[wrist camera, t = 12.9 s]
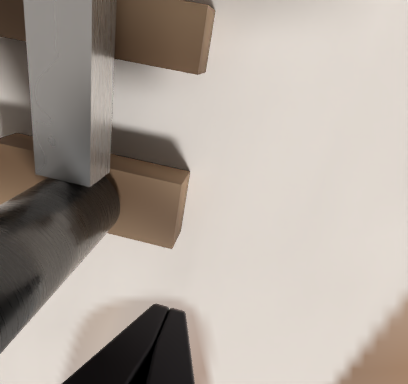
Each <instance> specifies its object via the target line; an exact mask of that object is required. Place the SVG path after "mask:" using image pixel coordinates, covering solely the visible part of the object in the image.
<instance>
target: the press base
mask: <svg viewBox="0 0 408 384" xmlns="http://www.w3.org/2000/svg"><path fill="white" fill-rule="evenodd" d="M214 15H215V10H214V9H213V8H211V7H210V6H209V5H207V4H201V3H195V2H189V1H183V0H117V2H116V28H115V53H114V59H119V60H125V61H130V62H135V63H140V64H145V65H150V66H156V67H161V68H166V69H171V70H176V71H182V72H187V73H192V74H197V75H198V74H201V73H204V72H206V67H207V60H208V54H209V47H210V41H211V35H212V28H213V22H214ZM0 37H5V38H11V39H16V40H21V41H26V31H25V17H24V3H23V0H0ZM189 175H190V171H186V170H181V169H177V168H172V167H168V166H163V165H159V164H154V163H150V162H145V161H141V160H137V159H132V158H128V157H123V156H119V155H114V154H111V155H110V172H109V173H108V174H106V175H105V177H106V178H107V179H108V180H109V181H110V182H111V184H112V185H113V186H114V188H115V190H116V192H117V194H118V197H119V200H120V214H119V218H118V220H117V221H116V223H115V224H114V225H113V227H112V228H111V229H110V230H109V231H108V232H107V233H109V234H113V235H117V236H122V237H126V238H130V239H134V240H138V241H142V242H146V243H150V244H154V245H158V246H162V247H166V248H170V249H172V248H173V246H174V244H175V242H176V240H177V238H178V236H179V234H180V232H181V226H182V220H183V214H184V207H185V201H186V194H187V188H188V182H189ZM46 178H48V177H45V176H41V175H36V174H35V161H34V146H33V136H29V135H24V134H20V133H15V134H12V135H9V136H6V137H2V138H0V205H1V204H3V203H4V202H6V201H8V200H10V199H11V198H13V197H15V196H17V195H18V194H20V193H22V192H23V191H25V190H27V189H29V188H30V187H32V186H34V185H36V184H37V183H39V182H41V181H43V180H44V179H46Z"/></svg>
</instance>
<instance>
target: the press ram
mask: <svg viewBox="0 0 408 384" xmlns="http://www.w3.org/2000/svg"><path fill="white" fill-rule="evenodd" d="M116 2H117V0H23V3H24V17H25V31H26V46H27V60H28V74H29V89H30V103H31V117H32V132H33V146H34V161H35V174H36V175H41V176H45V177H48V178H46V179H44V180H43V181H41V182H39V183H37V184H36V185H34V186H32V187H30V188H29V189H27V190H25V191H23V192H22V193H20V194H18V195H17V196H15V197H13V198H11V199H10V200H8V201H6V202H4V203H3V204H1V205H0V354H1V352H2V351H3V350H4V349H5V348H6V347H7V346H8V344H9V343H10V342H11V341H12V340H13V339H14V338H15V337H16V335H17V334H18V333H19V332H20V331H21V330H22V329H23V327H24V326H25V325H26V324H27V323H28V322H29V321H30V320H31V318H32V317H33V316H34V315H35V314H36V313H37V312H38V310H39V309H40V308H41V307H42V306H43V305H44V304H45V302H46V301H47V300H48V299H49V298H50V297H51V296H52V295H53V293H54V292H55V291H56V290H57V289H58V288H59V287H60V285H61V284H62V283H63V282H64V281H65V280H66V279H67V278H68V276H69V275H70V274H71V273H72V272H73V271H74V270H75V268H76V267H77V266H78V265H79V264H80V263H81V262H82V261H83V259H84V258H85V257H86V256H87V255H88V254H89V253H90V251H91V250H92V249H93V248H94V247H95V246H96V245H97V244H98V242H99V241H100V240H101V239H102V238H103V237H104V236H105V234H106V233H107V232H108V231H109V230H110V229H111V228H112V227H113V225H114V224H115V223H116V221H117V220H118V218H119V214H120V200H119V197H118V194H117V192H116V190H115V188H114V186H113V185H112V184H111V182H110V181H109V180H108V179H107V178H106V177H105V175H106V174H108V173H109V172H110V155H111V130H112V104H113V79H114V53H115V28H116Z"/></svg>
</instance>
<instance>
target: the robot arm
mask: <svg viewBox="0 0 408 384" xmlns="http://www.w3.org/2000/svg"><path fill="white" fill-rule="evenodd" d="M193 375H194V374H193V367H192V359H191V351H190V344H189V336H188V329H187V322H186V314H185V312H184V311H182V310H178V309H174V308H170V310H169V308H168V307H166V306H163V305H159V304H153V305H152V306H151V307H150V308H149V309H147V310H146V311H145V312H144V313H143V314H142V315H141V316H139V317H138V318H137V319H136V320H135V321H134V322H132V323H131V324H130V325H129V326H128V327H127V328H126V329H124V330H123V331H122V332H121V333H120V334H119V335H118V336H116V337H115V338H114V339H113V340H112V341H111V342H109V343H108V344H107V345H106V346H105V347H104V348H102V349H101V350H100V351H99V352H98V353H97V354H96V355H94V356H93V357H92V358H91V359H90V360H89V361H88V362H86V363H85V364H84V365H83V366H82V367H81V368H79V369H78V370H77V371H76V372H75V373H74V374H73V375H71V376H70V377H69V378H68V379H67V380H66V381H64V382H63V383H62V384H195V382H194V376H193Z"/></svg>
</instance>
